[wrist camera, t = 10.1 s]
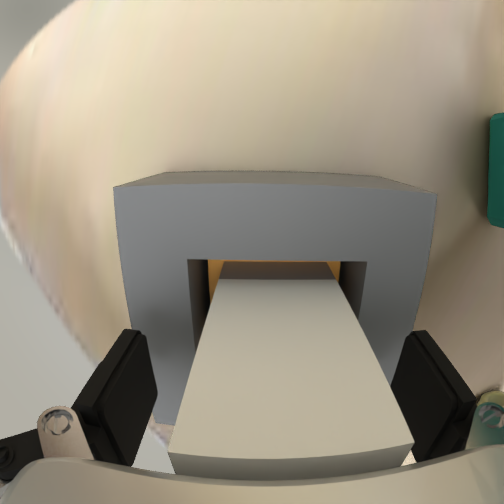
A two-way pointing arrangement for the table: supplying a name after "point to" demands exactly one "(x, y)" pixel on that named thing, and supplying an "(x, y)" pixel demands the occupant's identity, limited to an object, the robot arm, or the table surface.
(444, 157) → the table surface
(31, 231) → the table surface
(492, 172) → the digital multimeter
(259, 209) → the socket
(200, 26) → the table surface
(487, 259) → the table surface
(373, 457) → the plug
